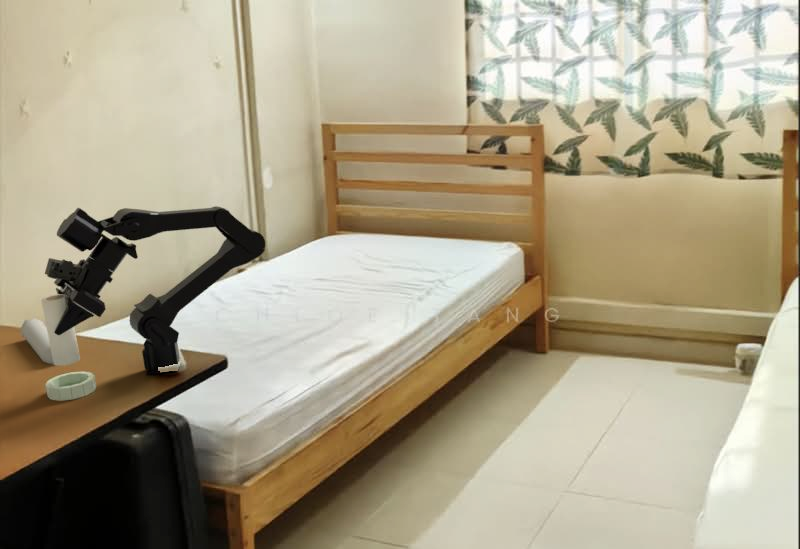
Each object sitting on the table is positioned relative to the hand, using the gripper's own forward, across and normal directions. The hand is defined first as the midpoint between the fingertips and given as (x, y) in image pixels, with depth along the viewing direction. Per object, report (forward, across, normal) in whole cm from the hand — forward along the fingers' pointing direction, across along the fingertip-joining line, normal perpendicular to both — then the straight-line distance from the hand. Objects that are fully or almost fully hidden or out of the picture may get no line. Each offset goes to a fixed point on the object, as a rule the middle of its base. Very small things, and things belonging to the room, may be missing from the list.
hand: (53, 330), depth 191 cm
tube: (+8, -32, +11) cm, 35 cm away
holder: (+8, 0, +10) cm, 13 cm away
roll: (+4, 0, +6) cm, 7 cm away
